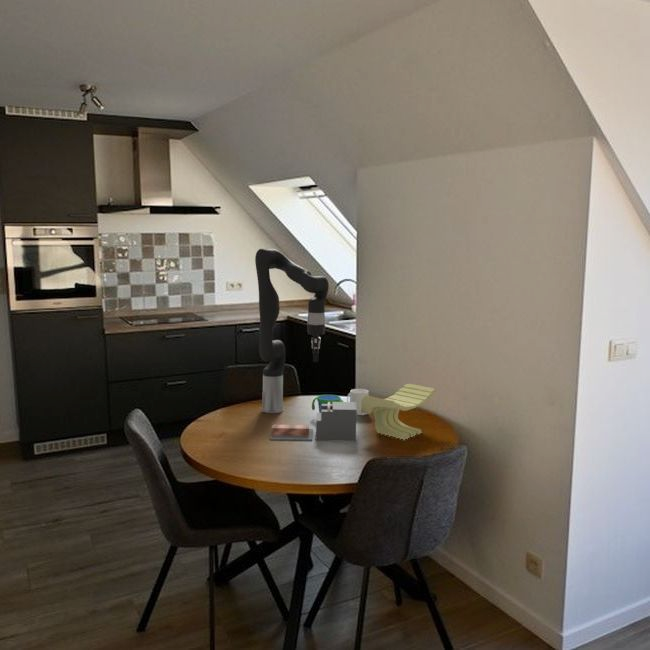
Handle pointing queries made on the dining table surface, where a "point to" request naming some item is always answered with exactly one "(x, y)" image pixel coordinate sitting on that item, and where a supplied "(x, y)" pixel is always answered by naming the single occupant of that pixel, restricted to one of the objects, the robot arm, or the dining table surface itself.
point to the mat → (293, 437)
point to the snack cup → (325, 400)
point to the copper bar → (290, 430)
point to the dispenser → (337, 422)
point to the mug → (358, 398)
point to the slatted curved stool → (396, 409)
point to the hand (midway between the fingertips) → (315, 359)
